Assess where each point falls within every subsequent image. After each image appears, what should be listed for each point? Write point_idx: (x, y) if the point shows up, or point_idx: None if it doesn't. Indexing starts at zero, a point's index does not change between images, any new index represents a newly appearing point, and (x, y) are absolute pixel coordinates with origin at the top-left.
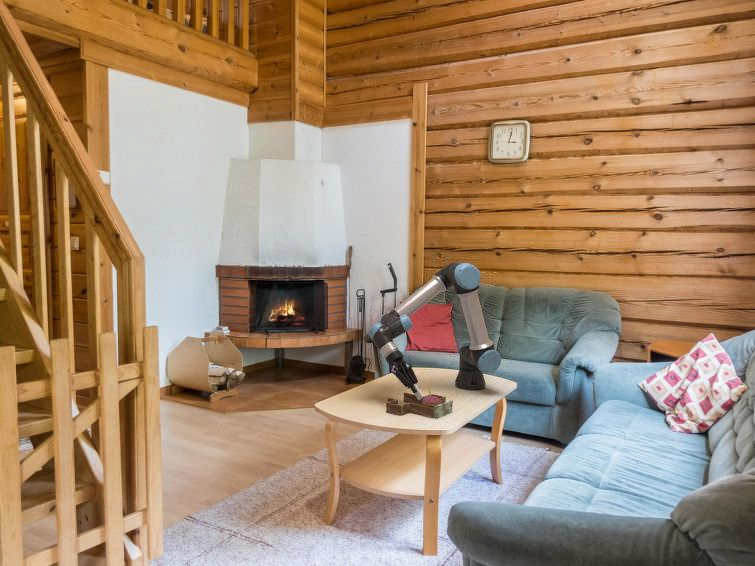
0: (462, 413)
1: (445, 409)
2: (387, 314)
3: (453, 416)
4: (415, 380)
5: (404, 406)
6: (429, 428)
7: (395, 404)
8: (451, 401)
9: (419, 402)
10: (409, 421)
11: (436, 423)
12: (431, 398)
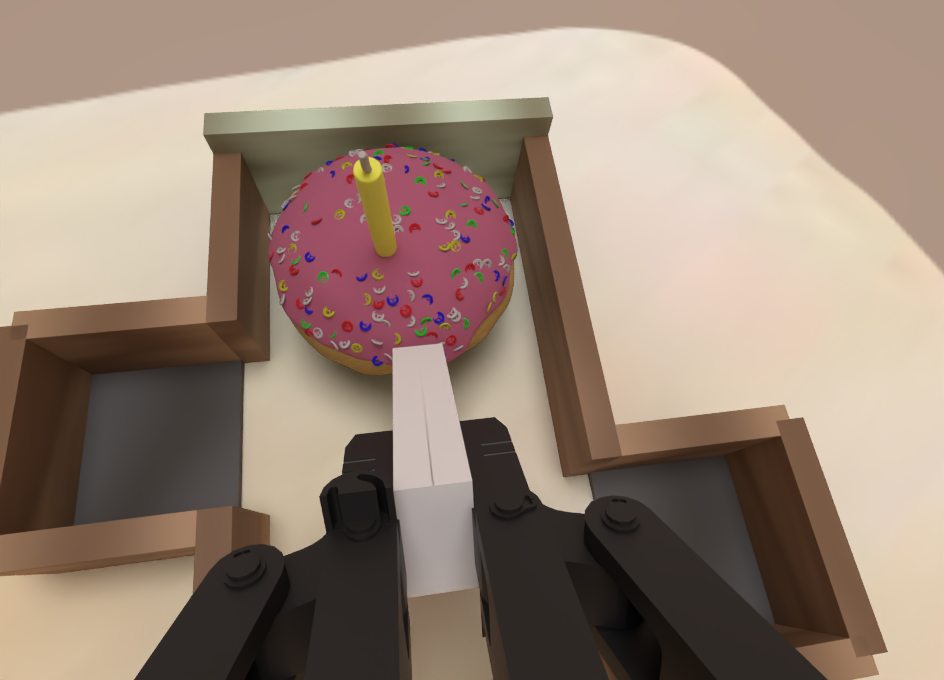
0: None
1: None
2: None
3: None
4: (279, 605)
5: (721, 415)
6: (730, 91)
7: (811, 512)
8: (232, 115)
9: None
10: (761, 272)
11: (607, 118)
12: (447, 192)
